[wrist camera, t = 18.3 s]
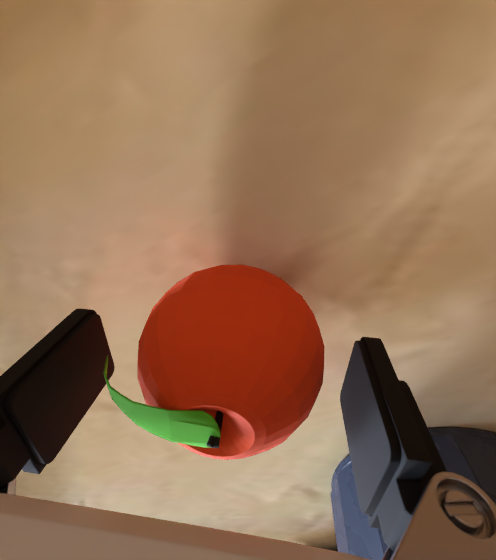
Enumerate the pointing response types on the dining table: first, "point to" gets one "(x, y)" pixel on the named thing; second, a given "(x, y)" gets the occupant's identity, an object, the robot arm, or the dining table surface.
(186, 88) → the dining table surface
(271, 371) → the clementine
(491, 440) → the pot
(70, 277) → the dining table surface
